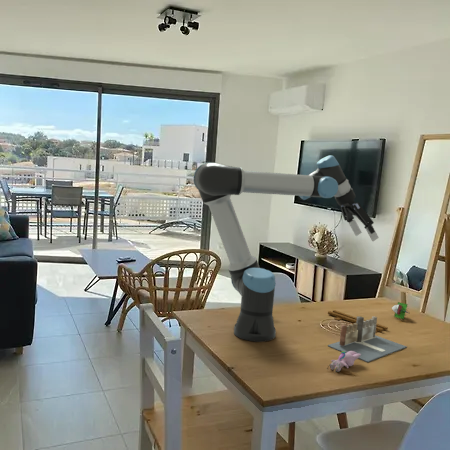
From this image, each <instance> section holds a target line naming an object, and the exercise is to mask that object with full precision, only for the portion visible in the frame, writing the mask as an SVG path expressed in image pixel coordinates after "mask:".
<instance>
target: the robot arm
mask: <svg viewBox="0 0 450 450" xmlns="http://www.w3.org/2000/svg"><path fill="white" fill-rule="evenodd" d="M316 167H317V168H316V169H315V170H314V171H312V172H311V173H309V174H298V173H297V174H294V173H292V174H291V173H281V172H268V171H253V170H245V169H243V168H242V167H241V166H232V165H226V164H223V163H219V162H212V161H207V162H204V163H203V164H200V165H199V166H198V167H197V168H196V169H195V170H194V174H193V184H194V186H195V188H196V190H198V192H199V196H200V198H201V200H202V203H203V204H204V205H206V206H208V207H209V210H210V213H211V215H212V218H213V221H214V223H215V226H216V229H217V231H218V234H219V237H220V239H221V242H222V245H223V247H224V250H225V254H226V255H227V258H228V261H229V265H228V267H227V269H228V272H229V275H230V281H231V284H232V287H233V288H234V290H236V291H237V293H239V295H240V296H241V299H240V312H239V314H238V317H237V319H236V323H235V324H234V326H233V334H234V335H235V336H236V337H237V338H239V339H241V340H245V341H249V342H256V343H257V342H260V343H261V342H269V341H273V340H274V339H275V338H276V333H277V331H276V328H275V327H276V326H275V322H274V317H273V310H274V301H275V290H276V289H275V287H276V285H277V284H276V276H275V274H274V273H273V272H272V271H271V270H269V269H265V268H263V267H260V265H259V262H258V259H257V257H256V256H253V255H251V252H250V249H249V245H248V244H247V241H246V238H245V235H244V232H243V230H242V227H241V225H240V224H241V223H240V221H239V219H238V216H237V213H236V210H235V207H234V205H233V202H232V199H231V196H233V195H234V196H239V195H241V194H242V193H248V194H249V193H250V194H262V195H263V194H265V195H266V194H267V195H268V194H269V195H280V196H281V195H282V196H295V197H296V196H298V197H300V199H301V200H303V201H305V200H307V199H310V198H311V197H313V198H323V199H331V198H333V197H334V199H335V201H336V203H337V204H338V206H339V207H340V210H341V213H342V217H343V220H344V221H346V222H347V223H348V225H349V227H350V228H351V230H352V232H353V234H354V235H355V236H356V237H357V236H359V235H361V234H362V233H363V232H362V230H361V229H360V227H359V225H358V223H357V221H356V219H355V217H356V218H357V219H358V220H359V221H360V222H361V223H362V224H363V226H364V229H365V230H366V232H367V234H368V236H369V237H370V241H372V242H375V241H376V240H378V239H379V235H378V233H377V232H376V230H375V228H374V226H373V224H374V221H373V219H372V218H371V217H370V215H369V214H368V213H367V212H366V210H365V209H364V208H363V207H362V205H361V204H360V202H355V198H356V194H355V192H354V189H353V188H352V187H351V184H350V182H349V179H348V178H347V177H346V176H345V173H344V172H343V170H342V167H341V165H340V163H339V162H338V160H337V158H336V157H335V156H334V155H327V156H325V157H323V158H321V159H319V160H318V161H317V162H316ZM354 216H355V217H354Z"/></svg>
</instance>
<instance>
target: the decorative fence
mask: <svg viewBox="0 0 450 450" xmlns="http://www.w3.org/2000/svg"><path fill="white" fill-rule="evenodd" d="M327 315H330V316H332V317H335V318H333V319H334V320H335V321H341V320H345V321H348V322H350V323H351V324H352V325H353V324H354V323H356V321H357V316H353V315H351V314H347V313H345V312H342V311H339V310H336V309H332V310H331V311H327ZM366 320H367V319H364V321H366ZM388 329H389V328H388V327H387V326H385V325H382V324H379V323H377V324H376V332H375V333H378V332H380V333H381V332H384V331H387V330H388Z"/></svg>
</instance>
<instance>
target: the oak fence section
mask: <svg viewBox="0 0 450 450" xmlns="http://www.w3.org/2000/svg"><path fill="white" fill-rule="evenodd" d="M352 324H353V323H351V324H348V325H346V324H341V327H340V328H341V329H340V335H339V336H340V337H339V341H340V344H339V345H341V346H345V345H346V344H350V343H353V342H356V341H357V336H358V330H357V324H356V323H354V324H353V325H352Z"/></svg>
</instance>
